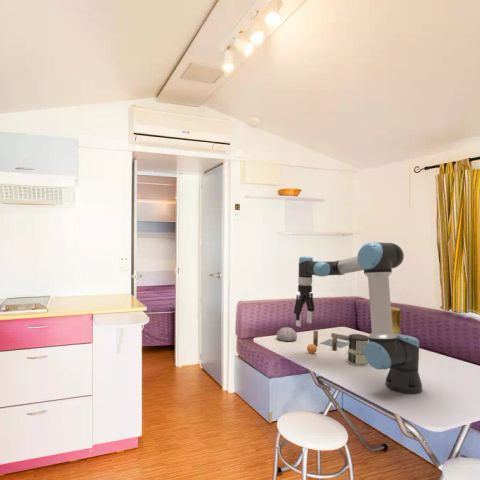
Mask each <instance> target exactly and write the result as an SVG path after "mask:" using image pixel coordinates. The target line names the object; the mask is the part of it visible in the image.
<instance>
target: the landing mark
mask: <svg viewBox="0 0 480 480" xmlns="http://www.w3.org/2000/svg"><path fill="white" fill-rule="evenodd" d="M332 341H333V338H332V339H331V338H329V339H326V340H323V341H321V342H319V344H321V345H325V346H329V347H330V346H331V347H332ZM346 346H349V342H348V341H347V342H345V341H341V340H337V348H338V349H341V348H344V347H346Z"/></svg>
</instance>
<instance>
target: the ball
mask: <svg viewBox="0 0 480 480" xmlns="http://www.w3.org/2000/svg"><path fill="white" fill-rule="evenodd" d="M317 347H318V346H315V345H314V344H313V343H309V344H308V345H307V347H306V350H307V352H308V354H311V355H313V354H316V352H317V350H318V349H317Z"/></svg>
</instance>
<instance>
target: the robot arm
mask: <svg viewBox="0 0 480 480" xmlns="http://www.w3.org/2000/svg"><path fill="white" fill-rule="evenodd" d="M404 258H405V254H404V251H403V249H402V248H401V246H399V245H398V244H396V243H393V242H379V241H377V242H376V241H375V242H374V241H373V242H367V243H364V244H363V245H362V246H361V248H360V249H359V251H358V253H357V256H353V257H352V256H351V257H348V258H343V259H339V260H334V261H315V260H314V257H312V256H300V257H299V259H298V277H297V278H298V286H297V292H299V294H297V295H296V300H295V304H294V307H293V308H294V309H293V313H294V314H295V326H296V327H300V328H301V327H302V314H301V313H302V310H303V308H304V304H305V305H306V306H305V307H306V309H307V311H306V323H307V324H312V322H313V321H312V320H313V312H315V303H314V294H313V293H312V292H313V285H312V284H313V276H316V277H327V276H343V275H346V274H349V273H355V272H362V271H363V274H364V275H365V276H366V277H367V282H368V299H369V311H370V313H369V314H370V324H371V326H370V327H371V333H370V334H368V337H369V339H368V343H367V344H366V346H365V347H364V356H365V359H366V361H367V362H368V365H369V366H370V367H371V368H373V369H375V370H379V371H381V370H385V371H386V370H388V372H387V375H386V377H385V386H386V387H387V388H388V389H390V390H392V391H395V392H399V393H403V394H419V393H421V392H423V383H422V380H421V377H420V373H419V365H420V364H419V360H420V340H419V339H418V338H417V337H414V336H411V335H408V334H406V335H405V334H402V333H401V334H394V333H393V328H392V315H391V307H392V306H391V303H392V302H391V292H390V291H391V289H390V275H391V274H392V273H393V269H396V268H397V267H399V266H401V265H402V263H403V261H404Z"/></svg>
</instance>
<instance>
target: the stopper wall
mask: <svg viewBox="0 0 480 480" xmlns="http://www.w3.org/2000/svg"><path fill="white" fill-rule="evenodd" d="M333 334H336V335H337V340H338V339H339V340H344V341H347V342H349V335H346V334H345V335H344V334H340V333H335V332H332V333H331V335H330V337H331V338H333Z"/></svg>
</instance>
